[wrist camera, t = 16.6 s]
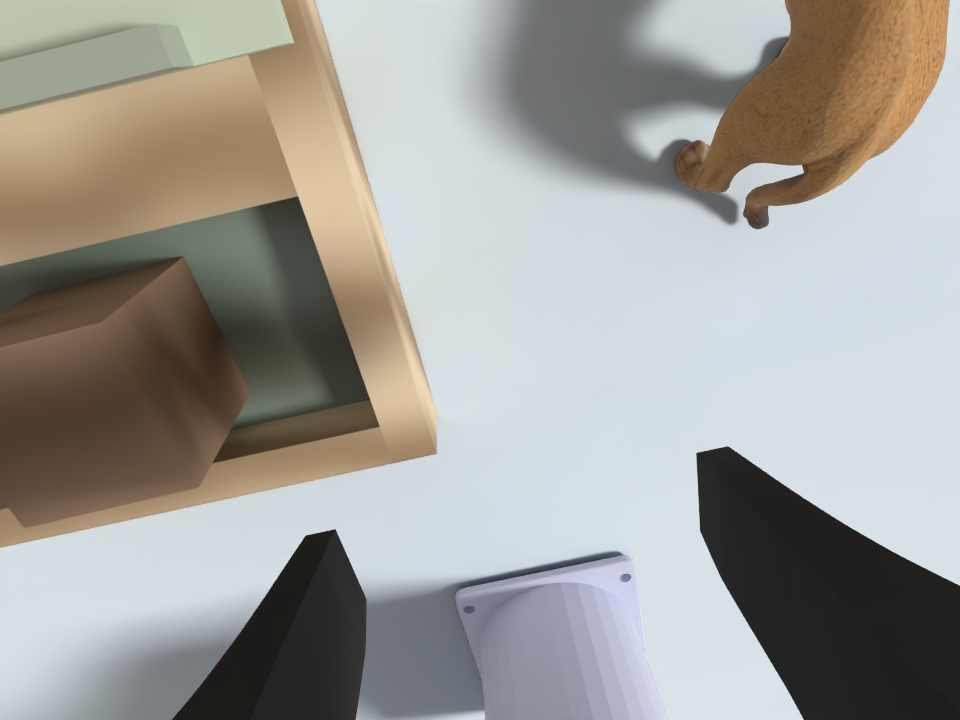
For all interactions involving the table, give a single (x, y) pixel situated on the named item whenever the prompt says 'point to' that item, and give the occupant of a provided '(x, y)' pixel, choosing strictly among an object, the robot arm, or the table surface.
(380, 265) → the wooden frame
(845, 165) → the lion figurine
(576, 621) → the robot arm
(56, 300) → the walnut cube
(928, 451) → the table surface
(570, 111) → the table surface
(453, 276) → the table surface
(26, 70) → the lid
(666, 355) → the table surface
